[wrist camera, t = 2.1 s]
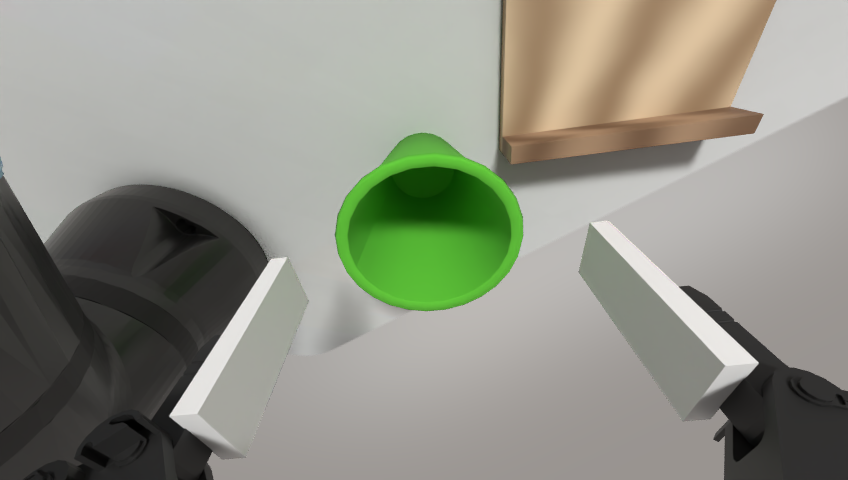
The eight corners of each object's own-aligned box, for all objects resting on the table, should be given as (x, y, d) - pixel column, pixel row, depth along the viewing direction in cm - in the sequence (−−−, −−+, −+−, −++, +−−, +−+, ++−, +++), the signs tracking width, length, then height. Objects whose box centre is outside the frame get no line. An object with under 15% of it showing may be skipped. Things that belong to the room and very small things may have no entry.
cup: (490, 196, 25) (536, 286, 16) (391, 228, 27) (381, 327, 17) (463, 83, 20) (507, 121, 11) (343, 129, 22) (295, 197, 13)
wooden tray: (499, 149, 23) (510, 164, 20) (505, -126, 15) (526, -160, 12) (713, 121, 22) (754, 133, 20) (837, -180, 14) (933, -228, 12)
